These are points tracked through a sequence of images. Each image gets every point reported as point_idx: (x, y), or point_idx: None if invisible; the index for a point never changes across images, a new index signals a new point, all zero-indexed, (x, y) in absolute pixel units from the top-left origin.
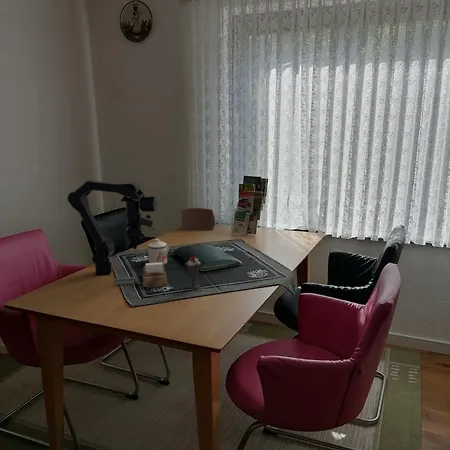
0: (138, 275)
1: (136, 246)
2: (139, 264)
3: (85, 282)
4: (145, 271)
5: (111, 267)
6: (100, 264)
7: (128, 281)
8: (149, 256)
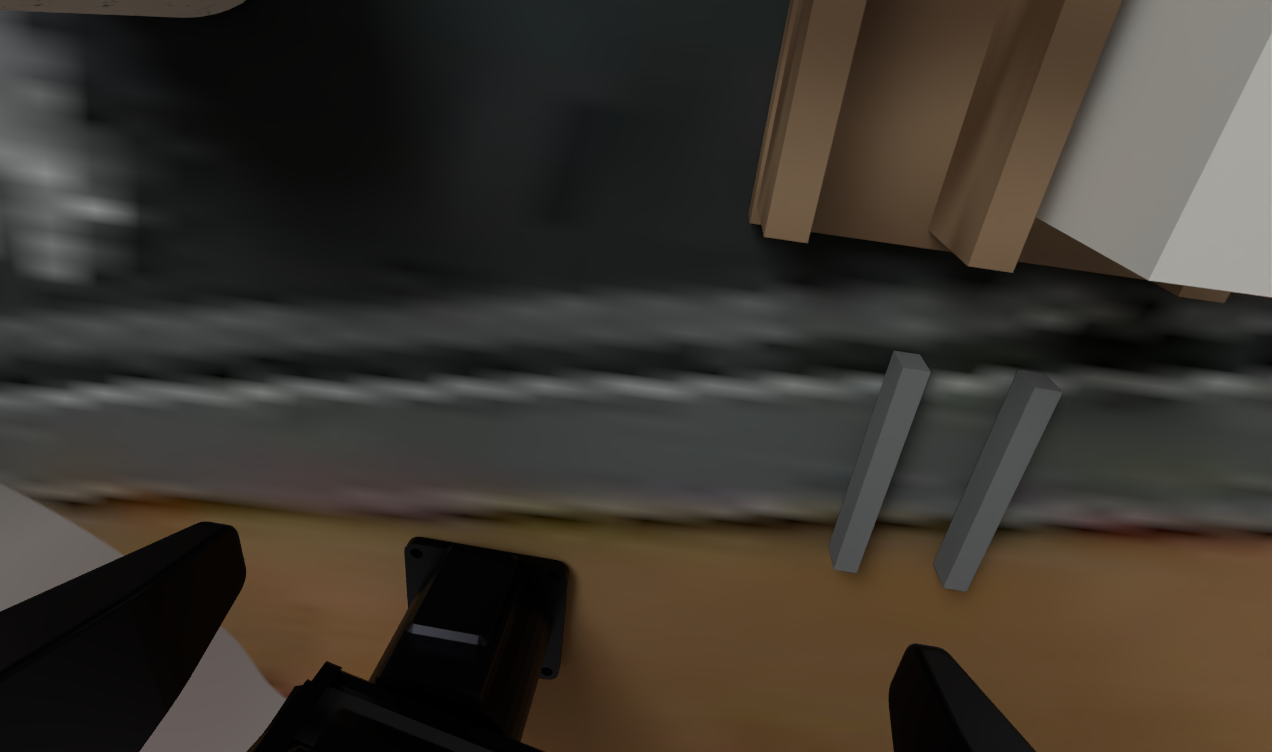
0: (722, 274)
1: (1014, 736)
2: (236, 189)
3: (715, 745)
4: (1017, 232)
5: (475, 579)
6: (521, 736)
7: (1017, 457)
8: (117, 6)
